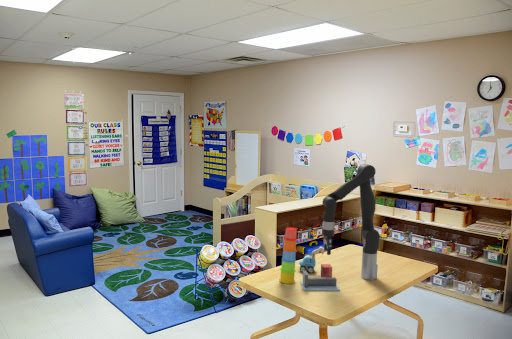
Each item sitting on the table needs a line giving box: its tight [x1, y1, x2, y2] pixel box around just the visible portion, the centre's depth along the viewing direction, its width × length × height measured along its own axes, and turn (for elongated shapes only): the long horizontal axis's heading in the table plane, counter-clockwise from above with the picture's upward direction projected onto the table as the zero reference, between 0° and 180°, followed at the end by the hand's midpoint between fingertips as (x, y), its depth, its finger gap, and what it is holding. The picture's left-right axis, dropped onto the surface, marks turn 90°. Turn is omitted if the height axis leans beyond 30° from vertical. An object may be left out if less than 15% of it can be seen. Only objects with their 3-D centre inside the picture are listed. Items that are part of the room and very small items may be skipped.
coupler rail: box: [302, 270, 337, 288], centre depth 245 cm, size 20×7×8 cm, turn 93°
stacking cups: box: [278, 226, 298, 285], centre depth 251 cm, size 10×10×35 cm
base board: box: [299, 281, 341, 292], centre depth 245 cm, size 22×12×1 cm, turn 93°
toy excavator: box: [298, 246, 325, 274], centre depth 272 cm, size 9×17×17 cm, turn 78°
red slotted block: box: [320, 263, 333, 277], centre depth 258 cm, size 6×6×9 cm
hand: (327, 252), depth 257 cm, fingers open, 8 cm apart
